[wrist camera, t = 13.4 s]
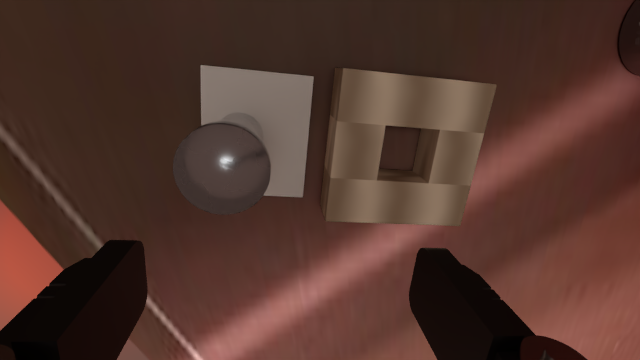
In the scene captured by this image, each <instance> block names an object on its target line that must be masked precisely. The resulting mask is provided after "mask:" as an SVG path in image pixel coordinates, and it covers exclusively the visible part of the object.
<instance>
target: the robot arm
mask: <svg viewBox="0 0 640 360" xmlns="http://www.w3.org/2000/svg"><path fill="white" fill-rule="evenodd" d="M619 50H620V56H621V59H622V62H623V63H624V65H625V66H626V68H627V69H628V70H630V71H631V72H632V73H634V74H636V75H639V76H640V0H636V1H635V2H634V3H633V5H632V7H631V8H630V10H629V11H628V13H627V15H626V17H625V20H624V22H623V25H622V28H621V32H620V38H619ZM146 299H147V278H146V267H145V255H144V247H143V244H142V242H141V241H134V240H109V241H108V242H106V243H105V244H104V246H103V247H102V248H101V249H100V250H99V251H98V252H97V253H96V254H95V255H94V256H93V257H92V258H84V259H82V260H81V261H79V262H77V263H75V264H73V265H71V266H70V267H68V268H66V269H64V270H63V271H62V272H61V273H60V274H59V275H58V276H57V277H56V278H55V279H54V280H53V281H52V282H51V283H50V285H49V286H46V287H45V288H44V289H43V290H42V291H41V292H40V293H39V294H38V295H37V298H36V299H33V300H32V301H31V302H30V303H29V304H28V305H27V306H26V307H25V308H24V309H23V310H22V311H20V312H19V313H18V314H17V315H16V316H15V317H14V318H13V319H12V320H11V321H10V322H9V323H8V324H7V325H6V326H5V327H4V328H3V329H2V330H1V331H0V360H117V358H118V356H119V354H120V352H121V351H122V349H123V347H124V345H125V343H126V341H127V340H128V338H129V336H130V334H131V332H132V331H133V329H134V327H135V325H136V323H137V321H138V320H139V318H140V316H141V314H142V312H143V310H144V307H145V304H146ZM409 301H410V307H411V310H412V312H413V314H414V316H415V318H416V320H417V322H418V324H419V326H420V328H421V329H422V331H423V333H424V335H425V337H426V339H427V341H428V343H429V344H430V346H431V348H432V350H433V352H434V354H435V356H436V358H437V360H587V359H586V358H585V357H584V356H582V355H581V354H580V353H579V352H577V351H576V350H574V349H573V348H571V347H569V346H568V345H566V344H564V343H562V342H559V341H557V340H554V339H551V338H548V337H544V336H536V335H535V334H534V333H533V332H532V331H531V330H530V328H529V327H528V326H527V325H526V324H525V323H524V322H523V321H522V320H521V319H520V318H519V317H518V316H517V315H516V314H515V312H514V311H513V310H512V309H511V308H510V307H509V306H508V305H507V304H506V303H505V302H504V301H503V300H501V299H500V296H499V295H498V294H497V293H496V292H495V291H494V290H491V287H490V286H489V285H488V284H487V283H486V282H485V280H484V279H483V278H482V277H481V276H480V275H478V274H477V273H475V272H474V271H472V270H471V269H469V268H468V267H466V266H465V265H461V264H460V263H459V261H458V260H457V259H456V258H455V257H454V256H453V255H452V254H451V253H450V251H449V250H448V249H445V248H421V249H420V250H419V251H418V253H417V257H416V262H415V267H414V271H413V276H412V281H411V286H410V291H409Z"/></svg>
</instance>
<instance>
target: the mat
mask: <svg viewBox="0 0 640 360" xmlns="http://www.w3.org/2000/svg"><path fill="white" fill-rule="evenodd" d="M313 79H314V77H313V76H305V75H295V74H285V73H275V72H265V71H256V70H246V69H236V68H226V67H216V66H206V65H201V126H202V125H205V124H207V123H211V122H217V121H221V120H222V118H224V117H225V116H226V115H228V114H231V113H235V112H241V113H246V114H249V115H251V116H252V117H254V118H255V119H256V120H257V121H258V122H259V124H260V125H261V128H262V131H263V143H264V145H265V146H266V148H267V151H268V153H269V157H270V162H271V175H270V181H269V185H268V187H267V190H266V192H265V193H264V195H263V196H285V197H303V189H304V178H305V167H306V156H307V145H308V134H309V123H310V112H311V101H312V90H313Z"/></svg>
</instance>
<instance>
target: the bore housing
mask: <svg viewBox="0 0 640 360" xmlns="http://www.w3.org/2000/svg"><path fill="white" fill-rule="evenodd" d="M496 86H497V85H496V84H487V83H478V82H468V81H459V80H450V79H440V78H431V77H422V76H412V75H403V74H394V73H384V72H375V71H366V70H356V69H347V68H336V67H335V73H334V82H333V91H332V101H331V110H330V119H329V128H328V137H327V146H326V155H325V165H324V174H323V183H322V192H321V201H320V206H321V209H322V212H323V215H324V218H325V221H331V222H360V223H389V224H418V225H447V226H460V224H461V221H462V217H463V213H464V209H465V205H466V201H467V198H468V194H469V190H470V186H471V182H472V178H473V174H474V171H475V167H476V163H477V159H478V155H479V151H480V148H481V144H482V140H483V136H484V132H485V128H486V124H487V121H488V117H489V113H490V109H491V105H492V101H493V98H494V94H495V90H496ZM386 125H388V126H400V127H413V128H421V130H420V135H419V140H418V145H417V150H416V156H415V161H414V166H413V171H409V170H393V169H379V163H380V157H381V151H382V145H383V139H384V133H385V126H386Z"/></svg>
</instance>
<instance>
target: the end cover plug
mask: <svg viewBox="0 0 640 360" xmlns="http://www.w3.org/2000/svg"><path fill="white" fill-rule="evenodd" d="M173 173H174V178H175V181H176V184H177V186H178V188H179V190H180V192H181V193H182V194H183V196H184V197H185V198H186V199H187V200H188V201H189V202H190V203H192V204H193V205H194V206H196V207H198V208H199V209H202V210H204V211H206V212H209V213H214V214H221V215H229V214H235V213H239V212H242V211H245V210H247V209H248V208H250V207H252V206H253V205H255V204H256V203H257V202H258V201H259V200H260V199H261V198H262V196H263V195H264V193H265V192H266V190H267V187H268V185H269V181H270V175H271V162H270V157H269V153H268V151H267V148H266V146H265V145H264V143H263V131H262V128H261V125H260V124H259V122H258V121H257V120H256V119H255V118H254V117H252V116H251V115H249V114H246V113H241V112H235V113H231V114H228V115H226V116H225V117H224V118H222V120H221V121H217V122H211V123H207V124H205V125H202V126H200V127H198V128H197V129H195V130H194V131H193V132H191V133H190V134H189V135H188V136H187V137H186V138H185V139H184V140H183V141H182V142H181V144H180V145H179V147H178V149H177V151H176V153H175V156H174V161H173Z"/></svg>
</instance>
